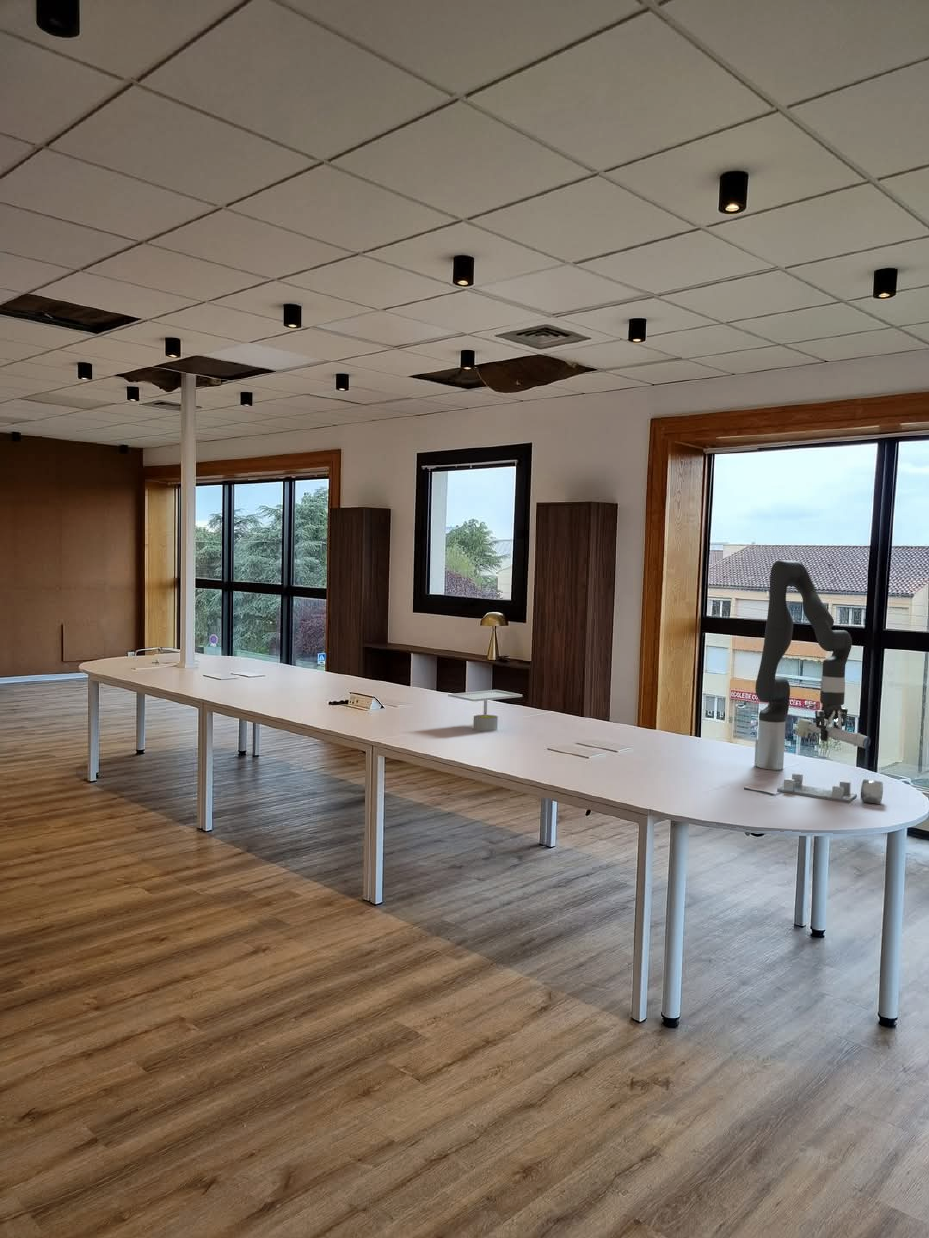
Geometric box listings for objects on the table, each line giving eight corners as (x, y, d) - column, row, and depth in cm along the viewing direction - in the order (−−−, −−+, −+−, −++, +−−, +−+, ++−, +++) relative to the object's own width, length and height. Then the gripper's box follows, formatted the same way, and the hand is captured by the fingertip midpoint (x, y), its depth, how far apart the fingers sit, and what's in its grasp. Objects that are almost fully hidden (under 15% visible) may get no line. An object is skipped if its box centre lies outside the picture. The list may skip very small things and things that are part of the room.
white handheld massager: (865, 737, 296) (794, 715, 314) (861, 756, 297) (790, 733, 315) (872, 735, 300) (801, 713, 318) (868, 754, 301) (798, 732, 319)
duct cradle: (777, 791, 298) (778, 769, 298) (786, 785, 307) (787, 764, 306) (876, 807, 281) (877, 784, 280) (883, 800, 289) (884, 778, 289)
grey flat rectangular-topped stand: (495, 722, 410) (496, 689, 410) (521, 728, 397) (522, 694, 396) (446, 728, 393) (447, 694, 392) (472, 735, 380) (473, 699, 379)
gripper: (837, 687, 313) (834, 736, 314) (808, 689, 306) (806, 739, 307) (856, 690, 307) (853, 740, 308) (828, 692, 299) (825, 743, 301)
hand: (829, 739), depth 308 cm, fingers closed on white handheld massager, 5 cm apart
